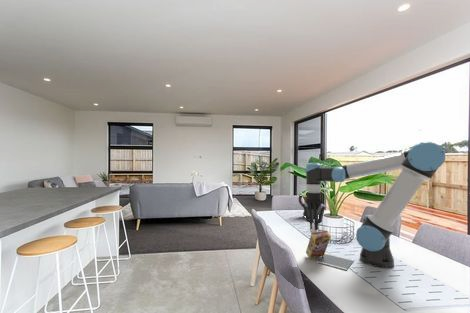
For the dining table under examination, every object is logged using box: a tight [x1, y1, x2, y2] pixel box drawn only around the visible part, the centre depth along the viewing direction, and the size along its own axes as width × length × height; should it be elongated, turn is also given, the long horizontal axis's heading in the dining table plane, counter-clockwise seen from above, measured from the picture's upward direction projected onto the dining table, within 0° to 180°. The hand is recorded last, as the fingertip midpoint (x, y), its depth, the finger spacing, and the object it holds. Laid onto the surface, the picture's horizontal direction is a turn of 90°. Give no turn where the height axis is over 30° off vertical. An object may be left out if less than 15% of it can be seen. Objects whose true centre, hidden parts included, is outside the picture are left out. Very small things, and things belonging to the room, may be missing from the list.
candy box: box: [305, 230, 332, 259], centre depth 126 cm, size 9×4×15 cm, turn 103°
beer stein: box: [298, 195, 321, 217], centre depth 219 cm, size 16×19×25 cm
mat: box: [315, 252, 355, 272], centre depth 123 cm, size 14×14×1 cm
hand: (314, 235), depth 130 cm, fingers closed
